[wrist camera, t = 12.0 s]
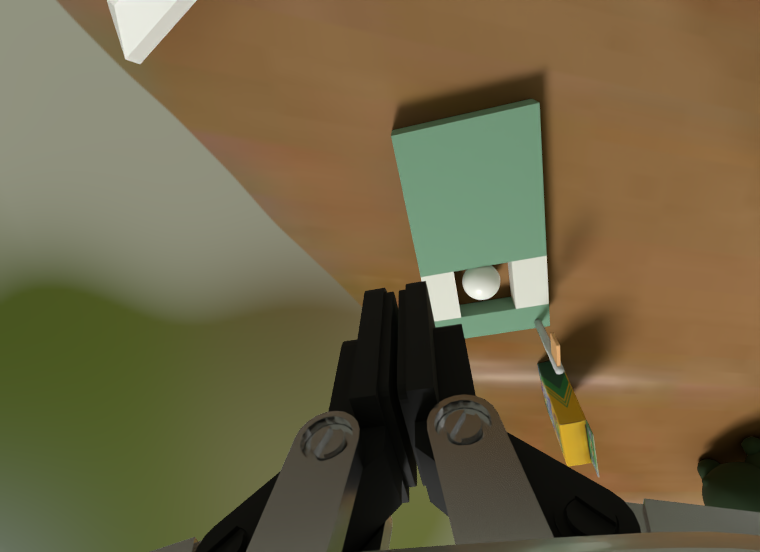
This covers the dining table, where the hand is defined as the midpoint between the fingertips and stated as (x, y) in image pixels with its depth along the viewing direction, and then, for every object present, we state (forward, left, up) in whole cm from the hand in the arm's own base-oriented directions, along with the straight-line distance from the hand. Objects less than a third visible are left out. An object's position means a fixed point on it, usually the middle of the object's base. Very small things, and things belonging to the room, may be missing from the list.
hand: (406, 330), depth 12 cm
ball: (-5, +18, -31) cm, 36 cm away
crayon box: (-12, +36, -33) cm, 50 cm away
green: (-5, +13, -33) cm, 36 cm away
